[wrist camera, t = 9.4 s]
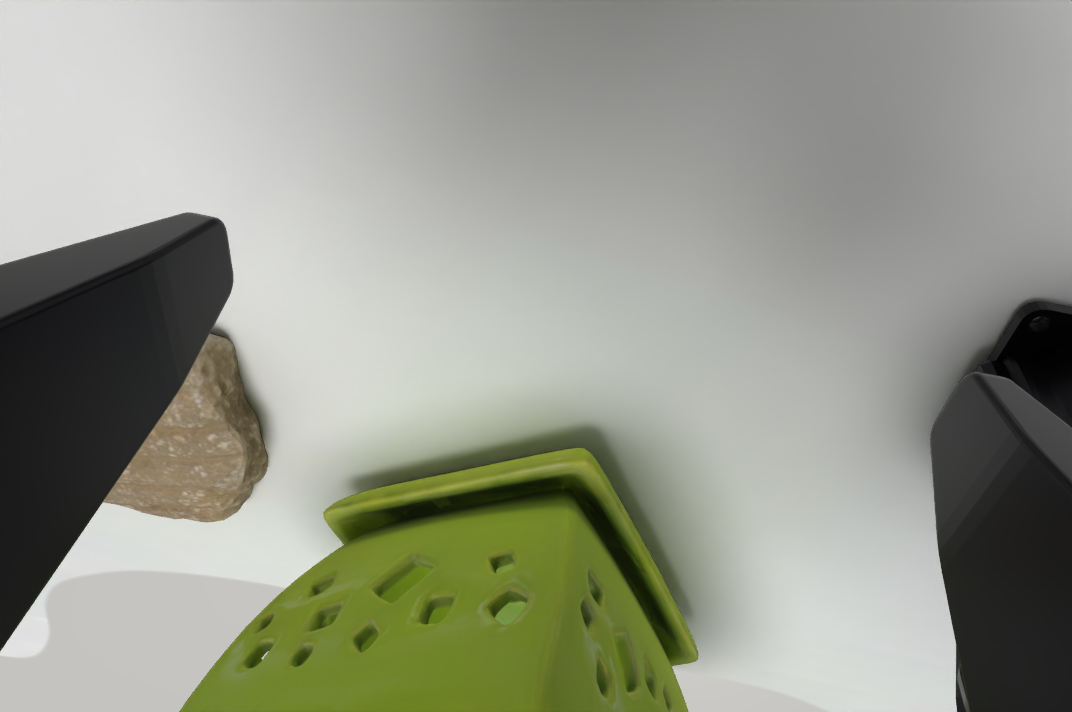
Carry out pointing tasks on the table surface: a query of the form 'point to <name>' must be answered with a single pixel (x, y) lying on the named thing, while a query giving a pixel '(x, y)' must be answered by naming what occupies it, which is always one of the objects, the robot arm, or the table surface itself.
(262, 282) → the table surface
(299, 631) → the flower pot
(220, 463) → the decorative stone
